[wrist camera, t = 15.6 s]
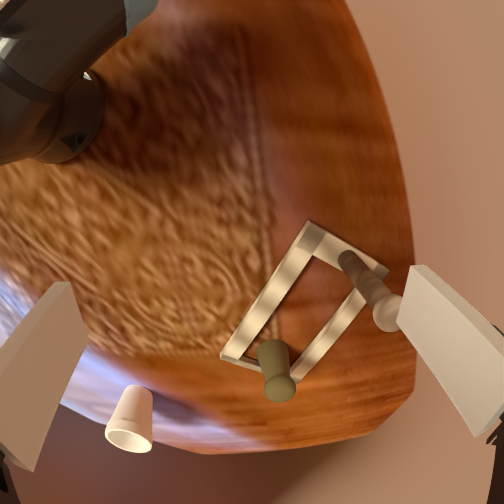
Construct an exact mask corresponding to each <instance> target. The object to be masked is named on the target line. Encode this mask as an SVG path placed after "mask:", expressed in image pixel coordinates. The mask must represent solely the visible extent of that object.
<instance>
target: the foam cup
mask: <svg viewBox="0 0 504 504" xmlns="http://www.w3.org/2000/svg"><path fill="white" fill-rule="evenodd" d="M152 397H153V396H152V394H151V392H150V391H149V390H148V389H146V388H144V387H142V386H139V385H129V386H128V387H126V389H125V390H124V392H123V394H122V396H121V398H120V400H119V403H118V405H117V407H116V409H115V411H114V413H113V415H112V417H111V419H110V421H109V422H108V423H107V427H106V431H105V437H106V438H107V439H108V441H109V442H110V443H112V444H113V445H115V446H117V447H119V448H121V449H124V450H126V451H131V452H136V453H141V452H147V451H149V450H151V447H152V441H153V435H152V407H153V398H152Z"/></svg>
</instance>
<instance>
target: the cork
mask: <svg viewBox="0 0 504 504" xmlns="http://www.w3.org/2000/svg"><path fill="white" fill-rule="evenodd" d="M256 355H257V358H258V361H259V364H260V367H261V370H262V373H263V376H264V379H265V385H264V393H265V396H266V397H267V398H268V399H269V400H270V401H272V402H285V401H288V400H289V399H291V398H292V397H293V396H294V394H295V392H296V384H295V382H294V380H293V379H292V378H291V377H290V365H289V351H288V346H287V344H286V343H284V342H283V341H280V340H268V341H266V342H263V343H262V344H261V345H260V346H259V347H258V348H257V351H256Z"/></svg>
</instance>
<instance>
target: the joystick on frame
mask: <svg viewBox="0 0 504 504" xmlns="http://www.w3.org/2000/svg"><path fill="white" fill-rule="evenodd" d="M312 255H314V256H316V257H317V258H319V259H321V260H323V261H325V262H327V263H328V264H330V265H332V266H334V267H336V268H338V269H340V270H341V271H343V272H344V273H345V274H346V275H347V277H348V278H349V279H350V281H351V282H352V283H353V285H354V286H355V287H354V289H353V290H352V292H351V293H350V294H349V296H348V297H347V298H346V300H345V301H344V302H343V304H342V305H341V306H340V307H339V309H338V310H337V311H336V313H335V314H334V315H333V317H332V318H331V319H330V320H329V322H328V323H327V324H326V325H325V327H324V328H323V329H322V330H321V332H320V333H319V334H318V335H317V337H316V338H315V339H314V340H313V341H312V343H311V344H310V345H309V346H308V347H307V349H306V350H305V351H304V352H303V353H302V355H301V356H300V357H299V358H298V359H297V360H296V362H295V363H294V364H293V365H292V366H291V367H290V377H291V378H292V379H293V380H294V382H295V383H298V382H299V381H300V380H301V379H302V378H303V377H304V376H305V375H306V374H307V373H308V372H309V371H310V369H311V368H312V367H313V366H314V365H315V364H316V363H317V362H318V361H319V359H320V358H321V357H322V356H323V355H324V354H325V353H326V352H327V350H328V349H329V348H330V347H331V346H332V345H333V343H334V342H335V341H336V340H337V339H338V337H339V336H340V335H341V334H342V333H343V331H344V330H345V329H346V328H347V326H348V325H349V324H350V323H351V322H352V320H353V319H354V318H355V317H356V315H357V314H358V313H359V311H360V310H361V309H362V308H363V306H364V305H365V304H366V302H367V304H368V305H369V306H370V308H371V309H372V311H373V319H374V322H375V324H376V325H377V326H378V327H379V328H380V329H381V330H383V331H386V332H395V331H397V330H399V329H400V327H399V326H398V325H397V323H396V320H397V316H398V313H399V309H400V306H401V302H402V298H403V297H401V296H400V295H397V294H393V293H392V292H391V291H390V290H389V289H388V288H387V287H386V286H385V284H384V283H383V282H382V281H383V279H384V278H385V277H386V275H387V274H388V272H389V271H390V270H388V269H387V268H386V267H385V266H384V265H382V264H381V263H379V262H377V261H376V260H374V259H373V258H371V257H369V256H368V255H366V254H365V253H363V252H361V251H360V250H358V249H357V248H355V247H353V246H352V245H350V244H348V243H347V242H345V241H343V240H342V239H340V238H338V237H337V236H335V235H333V234H332V233H330V232H328V231H327V230H325V229H323V228H322V227H320V226H318V225H316V224H315V223H313V222H311V221H310V220H307V222H306V223H305V225H304V227H303V228H302V230H301V231H300V233H299V234H298V236H297V238H296V239H295V241H294V242H293V244H292V245H291V247H290V249H289V250H288V252H287V253H286V255H285V256H284V258H283V259H282V261H281V263H280V264H279V266H278V267H277V269H276V270H275V272H274V273H273V275H272V276H271V278H270V279H269V281H268V282H267V284H266V286H265V287H264V289H263V290H262V292H261V293H260V295H259V296H258V298H257V299H256V301H255V302H254V304H253V305H252V307H251V308H250V310H249V311H248V313H247V314H246V316H245V317H244V319H243V320H242V322H241V323H240V325H239V326H238V328H237V329H236V331H235V332H234V333H233V335H232V336H231V338H230V339H229V341H228V342H227V344H226V345H225V347H224V348H223V350H222V351H221V353H220V359H222V360H225V361H228V362H231V363H234V364H237V365H240V366H243V367H246V368H249V369H252V370H255V371H258V372H261V373H262V370H261V367H260V364H259V361H256V360H253V359H250V358H247V357H244V356H241V355H242V354H243V353H244V351H245V350H246V349H247V347H248V346H249V345H250V343H251V342H252V341H253V339H254V338H255V336H256V335H257V334H258V332H259V331H260V330H261V328H262V327H263V325H264V324H265V323H266V321H267V320H268V318H269V317H270V316H271V314H272V313H273V311H274V310H275V309H276V307H277V306H278V304H279V303H280V301H281V300H282V299H283V297H284V296H285V294H286V293H287V291H288V290H289V289H290V287H291V286H292V284H293V283H294V281H295V280H296V278H297V277H298V275H299V274H300V272H301V271H302V270H303V268H304V267H305V265H306V264H307V262H308V261H309V259H310V258H311V256H312Z"/></svg>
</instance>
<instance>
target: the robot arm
mask: <svg viewBox="0 0 504 504" xmlns="http://www.w3.org/2000/svg"><path fill="white" fill-rule="evenodd" d="M157 4H158V0H0V166H2V165H6V164H9V163H12V162H16V161H20V160H23V159H27V158H31V159H33V160H36V161H39V162H42V163H47V164H56V163H61V162H65V161H68V160H71V159H73V158H75V157H77V156H78V155H80V154H81V153H82V152H83V151H85V150H86V149H87V148H88V146H89V145H90V144H91V143H92V141H93V140H94V138H95V137H96V135H97V133H98V131H99V129H100V126H101V123H102V120H103V115H104V108H105V99H104V92H103V89H102V86H101V83H100V81H99V80H98V78H97V77H96V76H95V74H94V73H93V72H91V71H90V70H88V69H89V68H90V67H91V66H92V65H93V64H94V63H95V62H96V61H97V60H98V59H99V58H100V57H101V56H102V55H103V54H104V53H106V52H107V51H108V50H109V49H110V48H111V47H112V46H114V45H115V44H116V43H117V42H118V41H119V40H121V39H122V38H123V37H127V36H128V35H129V34H130V32H131V30H132V29H133V28H134V27H136V26H137V25H138V24H139V23H140V22H142V21H143V20H144V19H145V18H147V17H148V16H149V15H150V14H152V12H153V11H154V10H155V9H156V7H157ZM396 323H397V325H398V326H399V327H400V329H401V330H402V331H403V333H404V334H405V335H406V337H407V338H408V339H409V341H410V342H411V343H412V345H413V346H414V347H415V349H416V350H417V352H418V353H419V354H420V356H421V357H422V358H423V360H424V361H425V363H426V364H427V366H428V367H429V368H430V370H431V371H432V373H433V374H434V376H435V377H436V378H437V380H438V381H439V383H440V384H441V386H442V387H443V389H444V390H445V392H446V393H447V395H448V396H449V398H450V399H451V401H452V402H453V404H454V405H455V407H456V408H457V410H458V412H459V413H460V415H461V416H462V418H463V419H464V421H465V423H466V424H467V426H468V427H469V429H470V431H471V432H472V434H473V436H474V437H475V438H476V437H477V436H479V435H481V434H482V433H484V432H486V431H487V430H489V429H490V428H491V427H492V425H493V424H494V423H495V422H496V421H497V420H498V418H500V419H501V421H502V423H501V424H500V425H499V426H498V427H497V428H496V429H495V431H494V432H493V433H492V434H491V435H490V436H489V438H488V439H487V442H486V444H489V443H490V442H491V441H492V440H493V438H494V437H495V436H496V435H497V438H496V439H495V440H494V441H493V443H492V445H496V452H495V460H494V468H493V474H492V480H491V486H490V490H489V495H488V500H487V504H504V334H503V333H502V332H501V331H500V330H499V329H498V328H497V327H496V326H494V325H492V324H491V323H489V322H488V321H487V320H486V319H485V318H484V317H483V316H482V315H481V314H480V313H479V312H478V311H477V310H476V309H475V308H474V307H473V306H472V305H470V304H469V303H468V302H467V301H466V300H465V299H464V298H463V297H462V296H461V295H459V294H458V293H457V292H456V291H455V290H454V289H453V288H452V287H450V286H449V285H448V284H447V283H446V282H445V281H443V280H442V279H441V278H440V277H439V276H438V275H437V274H435V273H434V272H433V271H432V270H431V269H429V268H428V267H427V266H426V265H413V266H410V270H409V274H408V278H407V282H406V287H405V290H404V294H403V298H402V302H401V306H400V309H399V313H398V316H397V320H396ZM88 341H89V336H88V334H87V331H86V328H85V326H84V323H83V320H82V317H81V314H80V312H79V309H78V306H77V303H76V300H75V297H74V293H73V290H72V287H71V284H70V282H54V283H53V285H52V286H51V287H50V288H49V289H48V290H47V291H46V293H45V294H44V295H43V296H42V297H41V298H40V299H39V301H38V302H37V303H36V304H35V305H34V307H33V308H32V309H31V310H30V311H29V313H28V314H27V315H26V316H25V318H24V319H23V320H22V321H21V323H20V324H19V325H18V326H17V328H16V329H15V330H14V331H13V333H12V334H11V335H10V337H9V338H8V339H7V341H6V342H5V343H4V345H3V346H2V348H1V349H0V504H20V501H19V499H18V496H17V493H16V490H15V487H14V484H13V481H12V478H11V475H10V472H9V469H8V466H7V464H6V463H5V462H4V461H3V459H4V457H5V456H6V457H8V458H9V459H10V460H11V461H12V462H13V463H14V464H15V465H17V466H19V467H21V468H23V469H26V470H29V471H31V472H34V469H35V465H36V462H37V459H38V457H39V454H40V451H41V448H42V445H43V442H44V440H45V437H46V435H47V432H48V430H49V427H50V424H51V422H52V419H53V417H54V415H55V412H56V410H57V407H58V405H59V403H60V400H61V398H62V396H63V394H64V391H65V389H66V387H67V385H68V382H69V380H70V378H71V376H72V374H73V372H74V370H75V368H76V365H77V363H78V361H79V359H80V357H81V355H82V353H83V351H84V349H85V347H86V345H87V343H88Z"/></svg>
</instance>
